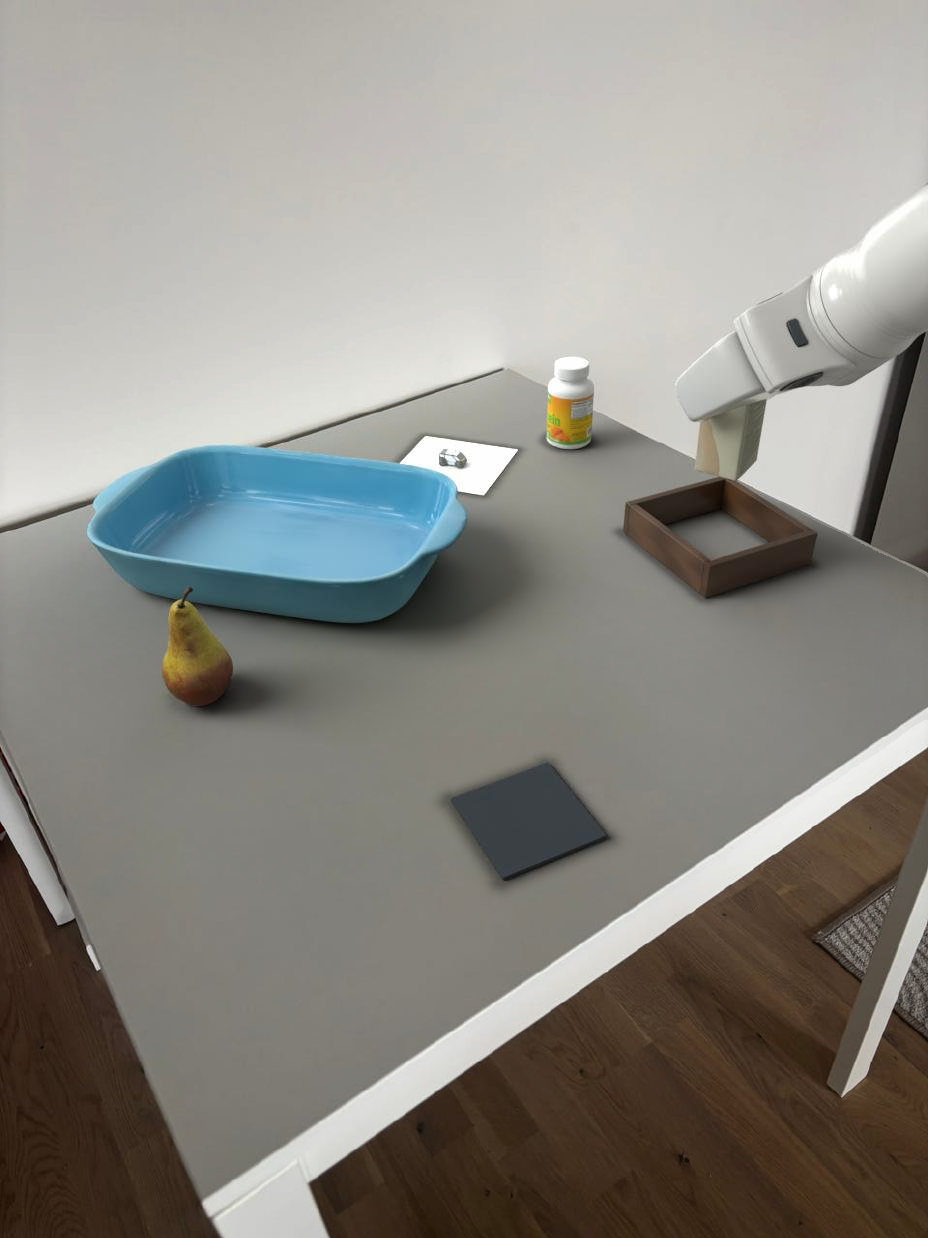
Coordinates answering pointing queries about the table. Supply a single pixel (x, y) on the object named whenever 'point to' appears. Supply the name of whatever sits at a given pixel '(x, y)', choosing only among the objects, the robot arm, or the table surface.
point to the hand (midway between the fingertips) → (728, 403)
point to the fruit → (194, 657)
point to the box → (730, 441)
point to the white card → (461, 462)
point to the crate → (713, 577)
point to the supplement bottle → (570, 404)
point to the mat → (527, 820)
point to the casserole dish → (278, 530)
